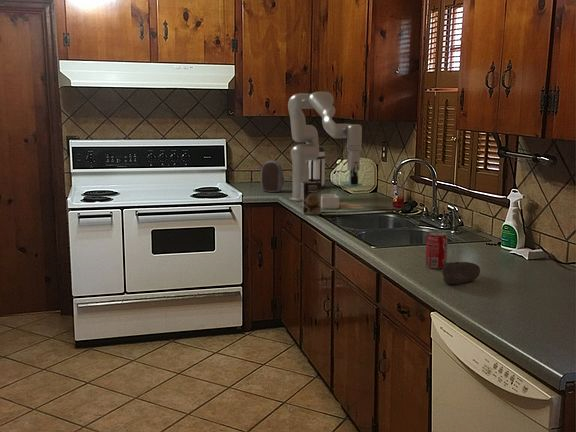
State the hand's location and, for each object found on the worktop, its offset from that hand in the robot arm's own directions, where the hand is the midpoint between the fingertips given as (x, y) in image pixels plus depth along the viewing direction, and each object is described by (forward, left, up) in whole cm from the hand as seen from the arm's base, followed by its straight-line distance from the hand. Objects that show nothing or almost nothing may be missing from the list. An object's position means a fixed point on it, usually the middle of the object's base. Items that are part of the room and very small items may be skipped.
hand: (353, 183), depth 319 cm
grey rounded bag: (-64, -38, -14) cm, 76 cm away
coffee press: (-78, -9, -14) cm, 79 cm away
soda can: (+114, +6, -14) cm, 115 cm away
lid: (-6, 0, -2) cm, 6 cm away
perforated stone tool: (+132, +8, -14) cm, 133 cm away
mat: (-7, 0, -14) cm, 15 cm away
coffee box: (+11, -24, -14) cm, 30 cm away
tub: (-8, -12, -14) cm, 20 cm away
